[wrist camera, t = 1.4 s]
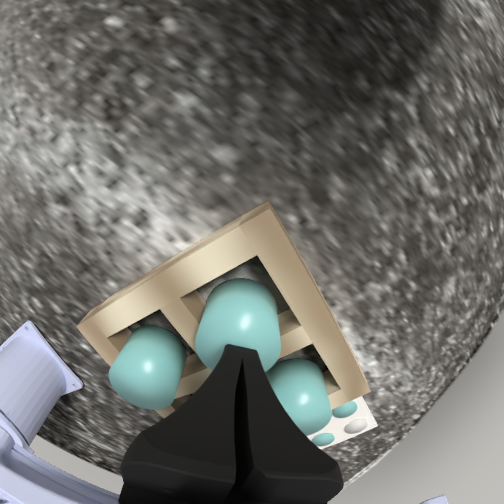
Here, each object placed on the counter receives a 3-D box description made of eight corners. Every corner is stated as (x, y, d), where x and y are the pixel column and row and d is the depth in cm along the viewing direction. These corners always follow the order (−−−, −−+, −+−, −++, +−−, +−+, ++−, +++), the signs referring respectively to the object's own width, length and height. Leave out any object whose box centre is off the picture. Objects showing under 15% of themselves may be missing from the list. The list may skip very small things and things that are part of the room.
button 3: (280, 406, 19) (283, 444, 16) (252, 373, 18) (250, 413, 15) (331, 385, 18) (341, 422, 15) (307, 349, 17) (316, 388, 14)
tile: (312, 449, 25) (313, 453, 24) (281, 417, 23) (281, 422, 22) (376, 422, 23) (378, 427, 23) (356, 385, 21) (358, 390, 21)
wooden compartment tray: (206, 429, 24) (203, 450, 21) (92, 309, 19) (76, 326, 17) (362, 370, 21) (370, 391, 18) (268, 200, 17) (269, 208, 14)
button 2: (154, 379, 19) (140, 414, 15) (117, 338, 18) (96, 371, 14) (198, 362, 18) (188, 400, 15) (160, 316, 17) (141, 351, 14)
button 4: (231, 348, 17) (226, 387, 14) (192, 298, 16) (178, 333, 13) (289, 320, 17) (295, 359, 13) (253, 265, 16) (252, 296, 12)
